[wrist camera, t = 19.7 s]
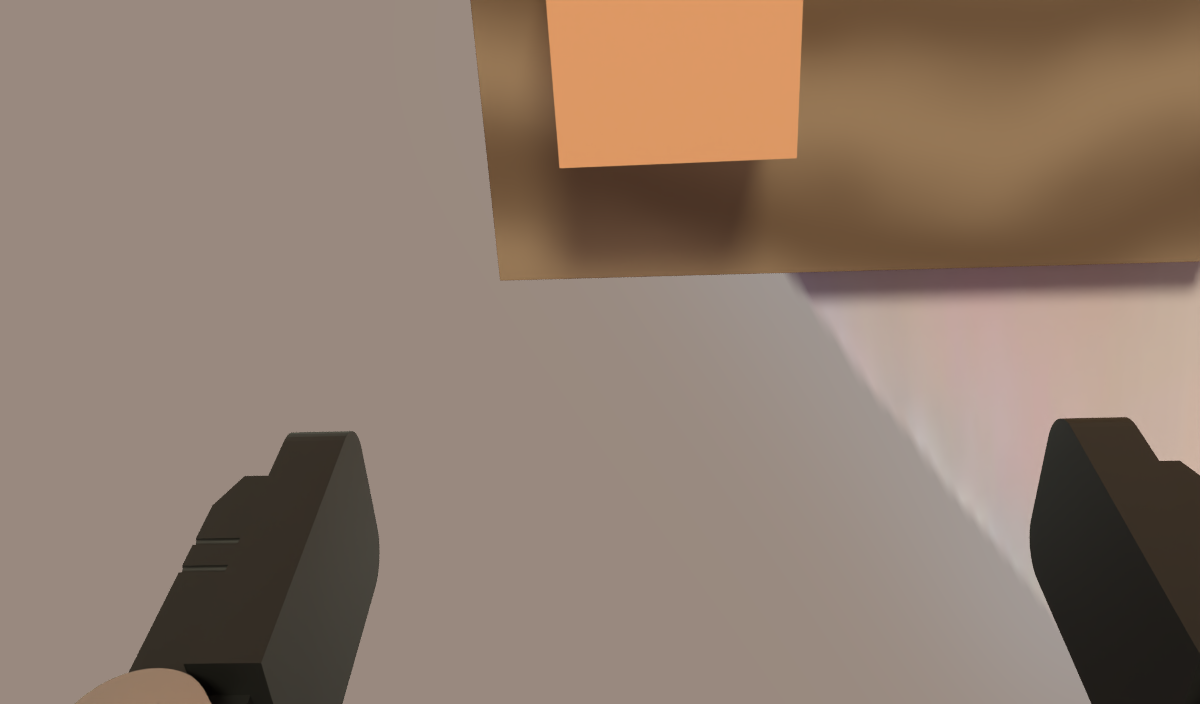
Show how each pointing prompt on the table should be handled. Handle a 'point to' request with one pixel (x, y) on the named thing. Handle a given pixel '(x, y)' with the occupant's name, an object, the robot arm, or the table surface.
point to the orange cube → (675, 80)
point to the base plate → (881, 148)
